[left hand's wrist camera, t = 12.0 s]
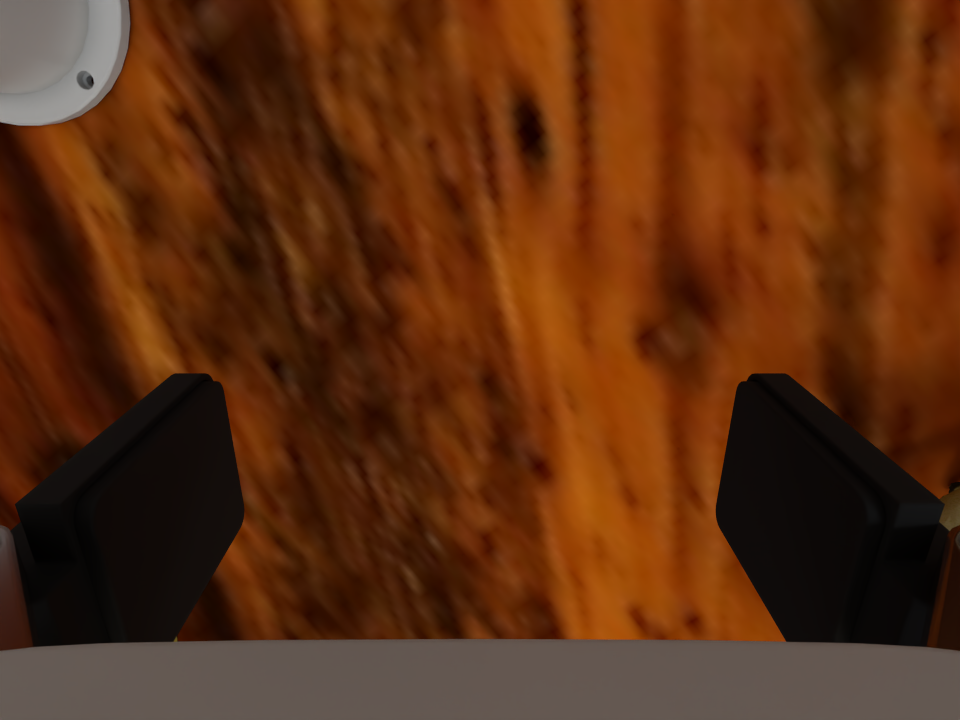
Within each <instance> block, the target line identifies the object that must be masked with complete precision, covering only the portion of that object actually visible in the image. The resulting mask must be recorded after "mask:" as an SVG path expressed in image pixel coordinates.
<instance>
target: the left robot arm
mask: <svg viewBox="0 0 960 720" xmlns="http://www.w3.org/2000/svg"><path fill="white" fill-rule="evenodd" d="M129 32H130V14H129V2H128V0H0V122H3V123H8V124H14V125H31V126H41V125H49V124H57V123H62V122H65V121H68V120H71V119H73V118H76V117H79V116H81V115H83V114H84V113H85V112H87V111H88V110H90V109H91V108H93V107H94V106H96V105H97V104H98V103H99V102H100V101H101V100H102V99H103V98H104V97H105V95H106V94H107V93H108V92H109V91H110V90H111V89H112V87H113V85H114V83H115V81H116V79H117V78H118V76H119V74H120V72H121V70H122V67H123V64H124V60H125V57H126V53H127V50H128V43H129ZM92 77H93V80H94V84H92V81H91V79H92ZM15 506H16V509H17V512H18V514H19V517H20V520H21V522H20V523H19V524H18V525H17V526H15V527H14V528H13V529H12V530H11V531H10V530H9V529H8V528H7V527H4V526H1V525H0V720H960V525H959V526H956V527H953V528H952V529H951V530H950V531H949V530H948V529H947V528H946V527H945V526H943V525H942V524H941V523H940V522H939V520H940V517H941V514H942V512H943V509H944V506H945V504H944V503H943V502H942V501H940V500H939V499H938V498H937V497H936V496H934V495H933V494H932V493H931V492H930V491H928V490H927V489H926V488H925V487H924V486H922V485H921V484H920V483H919V482H917V481H916V480H915V479H914V478H913V477H911V476H910V475H909V474H908V473H907V472H905V471H904V470H903V469H902V468H900V467H899V466H898V465H897V464H896V463H894V462H893V461H892V460H891V459H890V458H888V457H887V456H886V455H885V454H884V453H882V452H881V451H880V450H879V449H877V448H876V447H875V446H874V445H873V444H871V443H870V442H869V441H868V440H867V439H865V438H864V437H863V436H862V435H860V434H859V433H858V432H857V431H856V430H854V429H853V428H852V427H851V426H850V425H848V424H847V423H846V422H845V421H844V420H842V419H841V418H840V417H839V416H837V415H836V414H835V413H834V412H833V411H831V410H830V409H829V408H828V407H827V406H825V405H824V404H823V403H822V402H820V401H819V400H818V399H817V398H816V397H814V396H813V395H812V394H811V393H810V392H808V391H807V390H806V389H805V388H803V387H802V386H801V385H800V384H799V383H797V382H796V381H795V380H794V379H793V378H791V377H790V376H789V375H787V374H751V375H750V376H749V378H748V380H747V381H743V382H740V383H739V385H738V387H737V390H736V395H735V401H734V407H733V412H732V418H731V424H730V429H729V435H728V441H727V446H726V452H725V458H724V463H723V469H722V475H721V480H720V486H719V492H718V497H717V503H716V518H717V523H718V525H719V528H720V529H721V531H722V533H723V535H724V536H725V538H726V540H727V541H728V543H729V545H730V546H731V548H732V550H733V552H734V553H735V555H736V557H737V558H738V560H739V562H740V563H741V565H742V567H743V569H744V570H745V572H746V574H747V575H748V577H749V579H750V580H751V582H752V584H753V586H754V587H755V589H756V591H757V592H758V594H759V596H760V597H761V599H762V601H763V603H764V604H765V606H766V608H767V609H768V611H769V613H770V614H771V616H772V618H773V620H774V621H775V623H776V625H777V626H778V628H779V630H780V631H781V633H782V635H783V637H784V638H785V640H786V642H766V641H712V640H550V639H409V640H248V641H195V642H174V640H175V638H176V637H177V635H178V633H179V631H180V630H181V628H182V626H183V625H184V623H185V621H186V620H187V618H188V616H189V614H190V613H191V611H192V609H193V608H194V606H195V604H196V603H197V601H198V599H199V597H200V596H201V594H202V592H203V591H204V589H205V587H206V586H207V584H208V582H209V580H210V579H211V577H212V575H213V574H214V572H215V570H216V569H217V567H218V565H219V563H220V562H221V560H222V558H223V557H224V555H225V553H226V552H227V550H228V548H229V546H230V545H231V543H232V541H233V540H234V538H235V536H236V535H237V533H238V531H239V529H240V528H241V525H242V523H243V518H244V503H243V497H242V492H241V486H240V480H239V475H238V469H237V463H236V458H235V452H234V446H233V441H232V435H231V429H230V424H229V418H228V412H227V407H226V401H225V395H224V390H223V387H222V385H221V383H220V382H217V381H213V380H212V378H211V376H210V375H209V374H173V375H171V376H170V377H169V378H167V379H166V380H165V381H164V382H163V383H161V384H160V385H159V386H158V387H156V388H155V389H154V390H153V391H152V392H150V393H149V394H148V395H147V396H146V397H144V398H143V399H142V400H141V401H140V402H138V403H137V404H136V405H135V406H133V407H132V408H131V409H130V410H129V411H127V412H126V413H125V414H124V415H123V416H121V417H120V418H119V419H118V420H116V421H115V422H114V423H113V424H112V425H110V426H109V427H108V428H107V429H106V430H104V431H103V432H102V433H101V434H100V435H98V436H97V437H96V438H95V439H93V440H92V441H91V442H90V443H89V444H87V445H86V446H85V447H84V448H83V449H81V450H80V451H79V452H78V453H76V454H75V455H74V456H73V457H72V458H70V459H69V460H68V461H67V462H66V463H64V464H63V465H62V466H61V467H60V468H58V469H57V470H56V471H55V472H53V473H52V474H51V475H50V476H49V477H47V478H46V479H45V480H44V481H43V482H41V483H40V484H39V485H38V486H36V487H35V488H34V489H33V490H32V491H30V492H29V493H28V494H27V495H26V496H24V497H23V498H22V499H21V500H20V501H18V502H17V503H16V504H15Z"/></svg>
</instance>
